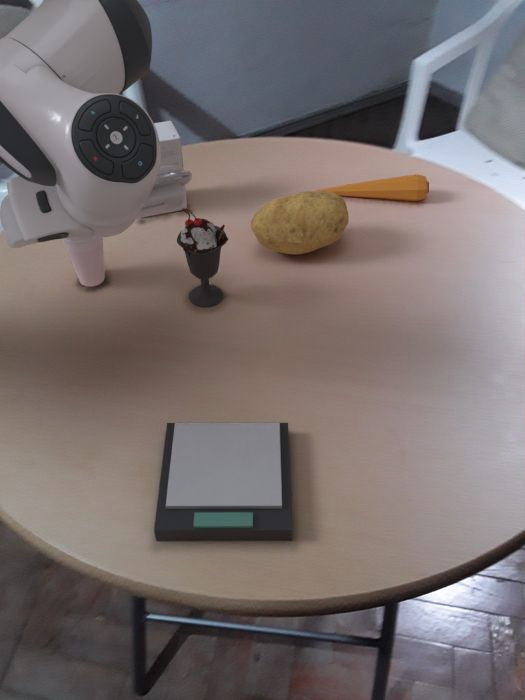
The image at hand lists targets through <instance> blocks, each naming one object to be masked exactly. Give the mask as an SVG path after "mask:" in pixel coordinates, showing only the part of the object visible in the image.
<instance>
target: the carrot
mask: <svg viewBox="0 0 525 700" xmlns="http://www.w3.org/2000/svg"><path fill="white" fill-rule="evenodd" d="M315 191H332V192H333V193H335V194H337V195H339V196H341V197H353V198H366V199H377V200H378V199H379V200H380V199H381V200H390V201H391V200H393V201H406V202H407V201H408V202H418V201H422V200H425V199H426V197H427V194H429V192H430V182H429V181H428V179H427V176H426V175H422V174H417V173H416V174H409V175H403V176H395V177H389V178H381V179H376V180H375V179H374V180H369V181H361V182H355V183H347V184H342V185H341V184H340V185H336V186H331V187H327V188H322V189H317V190H315Z"/></svg>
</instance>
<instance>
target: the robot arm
mask: <svg viewBox="0 0 525 700" xmlns="http://www.w3.org/2000/svg"><path fill="white" fill-rule="evenodd" d="M152 32H153V31H152V26H151V21H150V19H149V17H148V14H147V13H146V11H145V9H144V8H143V6H142V4H141V3H140V1H138V0H42V2H41V3H40V4H39V5H38V6H37V7H36V8H35V9H34V10H33V11H32V12H30V13H29V14H28V15H27V16H26V17H25V18H24V19H23V20H22V21H20V22H19V23H18V24H17V25H16V26H15V27H14V28H13V29H11V31H9V32H8V33H7V34H6V35H5V36H4V37H1V38H0V162H1V163H2V164H3V165H4V166H6V167H7V168H8V169H9V170H11V171H12V172H13V173H15V174H16V175H17V176H16V177H14V178H11V179H9V180H7V182H6V189H7V195H6V196H4V197H3V199H2V200H1V203H0V222H1V226H2V230H3V233H4V234H5V238H6V242H7V243H8V246H9V247H10V248H11V249H19V248H23V247H26V246H31V245H35V244H38V243H45V242H50V241H55V240H56V241H57V240H63V239H64V238H69V237H91V236H93V237H103V238H111V237H113V236H117V235H119V234H121V233H123V232H125V231H127V230H128V229H129V228H130V227H131V226H132V225H133V224H134V222H135V221H136V220H137V219H138V218H141V217H142V218H144V217H143V216H147V215H151V214H155V213H159V212H163V211H167V210H172V209H175V208H177V207H179V206H181V205H182V203H183V201H184V198H185V192H184V189H183V186H184V185H185V186H186V185H187V184H189V183H190V182H191V180H192V178H193V174H192V173H191V170H184V172H181V171H180V170H177V168H176V167H175V166H173V165H165V166H160V163H161V146H160V141H159V137H158V133H157V130H156V128H155V125H154V123H155V122H154V121H153V120H152V117H151V116H150V114H149V113H148V112H147V110H145V108H143V106H141V104H139V103H138V102H136V101H135V100H133V99H132V98H130V97H128V96H126V95H122V94H123V93H125V92H126V91H127V90H128V89H129V88H131V87H132V86H133V85H134V84H135V83H137V82H138V81H140V79H142V78H143V77H144V76H145V75H147V74H148V72H149V71H150V68H151V62H152V55H153V34H152ZM147 217H148V216H147Z"/></svg>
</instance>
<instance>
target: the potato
mask: <svg viewBox="0 0 525 700" xmlns="http://www.w3.org/2000/svg"><path fill="white" fill-rule="evenodd" d="M250 222H251V224H250V230H252V232H253V234H254V236H255V238H256V239H257V241H258V243H259V244H260V245H262V246H263V247H264V248H266V249H269V250H272V251H274V252H275V253H276V252H277V253H280V254H285V255H294V256H295V255H297V256H299V255H303V254H307V253H311V252H312V253H313V252H314V251H316V250H319V249H321V248H325V247H326V246H330V245H332V244H334V243H335V242H336V241H338V240H340V239H341V237H342V235H343V233H344V231H345V229H346V227H348V224H349V211H348V207H347V203H346V201H345V199H344V196H340V195H337V194H335V193H333V192H332V191H316V190H309V191H300V192H296V193H294V194H293V193H292V194H289V195H284V196H281V197H277V198H273V199H271V200H269V201H268V202H266V203H264V204H263V205H262V206H260V207H259V208H258V210H257V211H256V213H255V214H254V216H253V217H252V219H251V221H250Z"/></svg>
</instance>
